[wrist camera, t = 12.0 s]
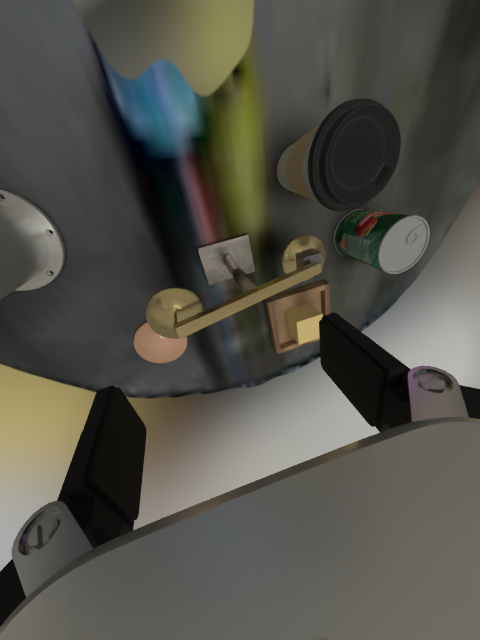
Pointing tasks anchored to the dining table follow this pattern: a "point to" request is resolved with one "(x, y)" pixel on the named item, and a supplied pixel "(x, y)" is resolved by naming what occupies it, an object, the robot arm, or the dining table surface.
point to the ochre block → (303, 322)
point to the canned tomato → (382, 239)
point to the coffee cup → (344, 156)
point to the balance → (225, 263)
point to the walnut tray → (279, 303)
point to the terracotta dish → (157, 345)
